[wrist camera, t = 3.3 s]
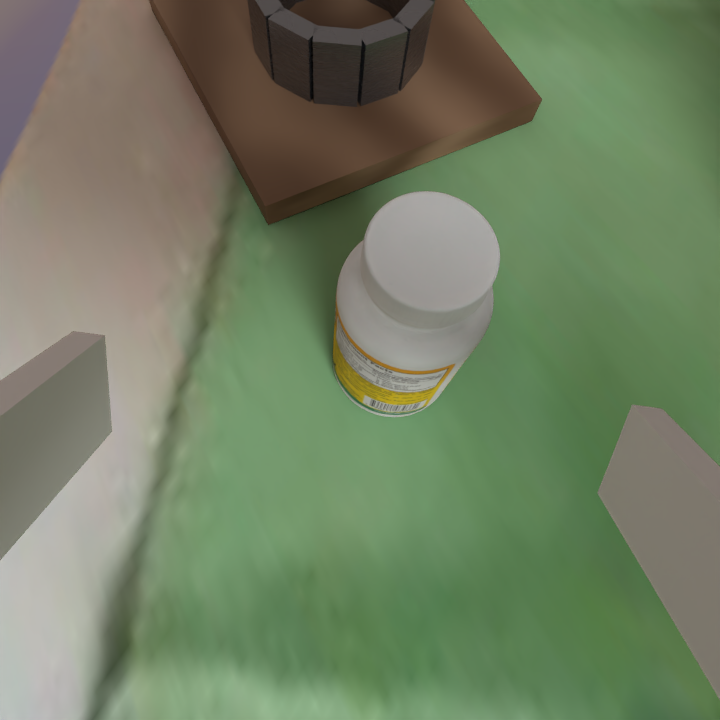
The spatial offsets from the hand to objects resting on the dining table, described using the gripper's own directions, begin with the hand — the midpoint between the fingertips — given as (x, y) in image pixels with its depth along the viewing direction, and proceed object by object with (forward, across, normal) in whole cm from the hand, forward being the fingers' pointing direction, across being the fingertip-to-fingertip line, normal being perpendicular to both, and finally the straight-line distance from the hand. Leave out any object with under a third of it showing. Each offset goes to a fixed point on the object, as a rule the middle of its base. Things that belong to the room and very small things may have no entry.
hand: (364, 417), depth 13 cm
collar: (+22, -3, +11) cm, 24 cm away
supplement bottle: (+10, +1, -3) cm, 11 cm away
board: (+23, -3, +10) cm, 25 cm away
